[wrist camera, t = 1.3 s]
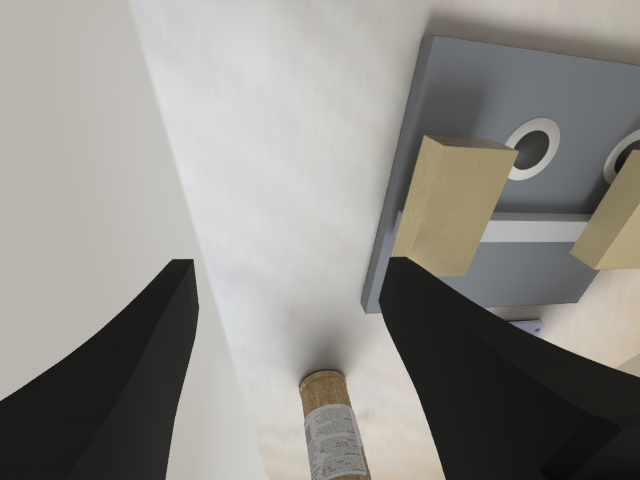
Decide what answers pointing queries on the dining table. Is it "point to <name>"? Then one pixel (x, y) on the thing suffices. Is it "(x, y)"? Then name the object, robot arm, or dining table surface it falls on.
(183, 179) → the dining table surface
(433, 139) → the block
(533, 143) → the bolt plate
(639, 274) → the dining table surface
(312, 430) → the sprinkles bottle
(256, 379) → the dining table surface
